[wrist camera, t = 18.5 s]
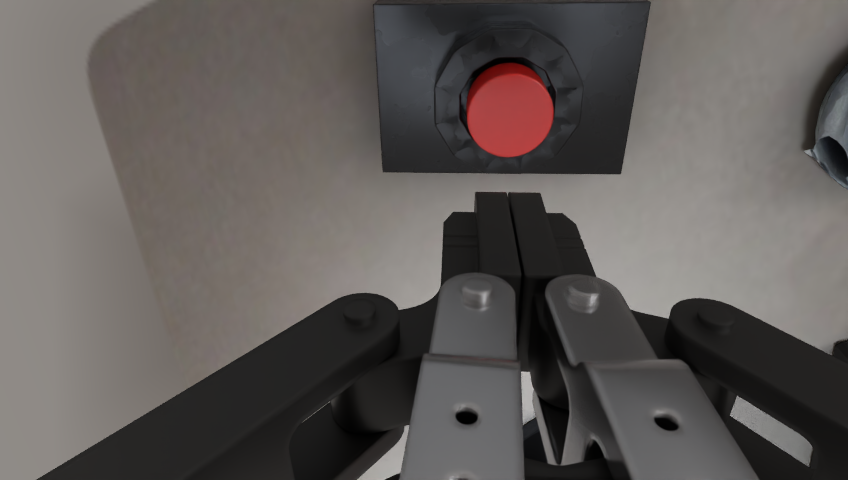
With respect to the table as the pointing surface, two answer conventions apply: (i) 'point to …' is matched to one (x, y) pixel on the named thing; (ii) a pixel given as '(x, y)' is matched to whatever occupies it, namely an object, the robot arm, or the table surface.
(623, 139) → the red push button panel
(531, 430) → the black lever mount
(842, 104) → the electronic device
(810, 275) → the table surface
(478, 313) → the robot arm
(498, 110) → the button
